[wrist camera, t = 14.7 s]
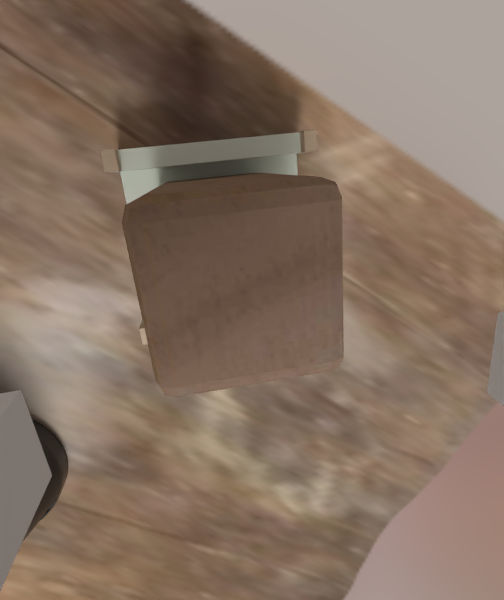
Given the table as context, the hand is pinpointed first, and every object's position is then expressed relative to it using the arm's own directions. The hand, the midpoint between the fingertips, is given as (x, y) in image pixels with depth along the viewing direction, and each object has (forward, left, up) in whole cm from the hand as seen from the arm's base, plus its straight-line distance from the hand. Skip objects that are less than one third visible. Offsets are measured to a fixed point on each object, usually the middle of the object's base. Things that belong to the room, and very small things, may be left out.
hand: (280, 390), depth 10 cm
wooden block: (0, 0, -28) cm, 28 cm away
